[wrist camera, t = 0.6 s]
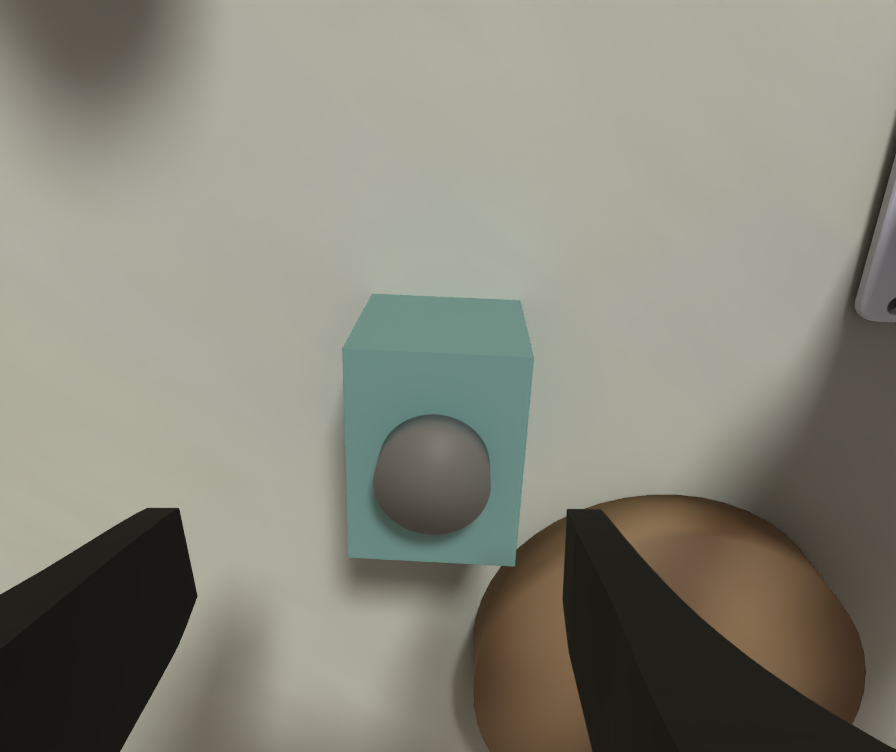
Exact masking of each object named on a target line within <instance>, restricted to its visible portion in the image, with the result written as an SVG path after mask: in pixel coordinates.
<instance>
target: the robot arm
mask: <svg viewBox="0 0 896 752" xmlns="http://www.w3.org/2000/svg"><path fill="white" fill-rule="evenodd" d="M894 298H896V156H895V159H894V163H893V166H892V170H891V174H890V177H889V181H888V184H887V188H886V192H885V195H884V199H883V203H882V206H881V210H880V213H879V217H878V221H877V224H876V228H875V231H874V235H873V239H872V242H871V246H870V250H869V253H868V257H867V260H866V264H865V268H864V271H863V275H862V278H861V282H860V286H859V289H858V293H857V297H856V300H855V310H856V312H857V314H859V315H860V316H861V317H862V318H864V319H866V320H869V321H873V322H895V323H896V307H895V308H894V309H892V310H890V311H887V306H888V304H889V302H890V301H891V300H893V299H894ZM196 599H197V592H196V587H195V582H194V577H193V573H192V568H191V563H190V558H189V553H188V549H187V544H186V539H185V534H184V530H183V525H182V520H181V515H180V510H179V508H146V509H144V510H142V511H140V512H138V513H136V514H135V515H133V516H131V517H129V518H128V519H126V520H124V521H122V522H121V523H119V524H117V525H116V526H114V527H112V528H111V529H109V530H107V531H106V532H104V533H103V534H101V535H99V536H98V537H96V538H94V539H93V540H91V541H90V542H88V543H86V544H85V545H83V546H81V547H80V548H78V549H77V550H75V551H73V552H72V553H70V554H68V555H67V556H65V557H64V558H62V559H60V560H59V561H57V562H55V563H54V564H52V565H51V566H49V567H47V568H46V569H44V570H42V571H41V572H39V573H37V574H35V575H34V576H32V577H30V578H28V579H27V580H25V581H23V582H21V583H20V584H18V585H16V586H14V587H13V588H11V589H9V590H7V591H6V592H4V593H2V594H0V752H120V751H121V749H122V747H123V745H124V743H125V742H126V740H127V738H128V736H129V734H130V733H131V731H132V729H133V727H134V725H135V724H136V722H137V720H138V718H139V717H140V715H141V713H142V711H143V709H144V708H145V706H146V704H147V702H148V700H149V699H150V697H151V695H152V693H153V691H154V690H155V688H156V686H157V684H158V682H159V681H160V679H161V677H162V675H163V673H164V671H165V670H166V668H167V666H168V664H169V662H170V660H171V659H172V657H173V655H174V653H175V651H176V649H177V647H178V645H179V643H180V640H181V638H182V635H183V633H184V630H185V628H186V626H187V623H188V620H189V618H190V615H191V612H192V610H193V607H194V604H195V601H196ZM562 601H563V610H564V618H565V627H566V635H567V643H568V651H569V656H570V660H571V664H572V669H573V673H574V677H575V681H576V686H577V690H578V694H579V698H580V702H581V707H582V711H583V715H584V719H585V723H586V727H587V731H588V736H589V740H590V744H591V748H592V752H896V749H894V748H892V747H890V746H888V745H886V744H884V743H883V742H881V741H879V740H877V739H875V738H874V737H872V736H870V735H869V734H867V733H865V732H863V731H862V730H860V729H858V728H857V727H855V726H853V725H851V724H850V723H848V722H846V721H845V720H843V719H841V718H839V717H838V716H836V715H834V714H833V713H831V712H829V711H828V710H826V709H825V708H823V707H822V706H820V705H818V704H817V703H815V702H814V701H812V700H810V699H809V698H807V697H806V696H804V695H803V694H801V693H800V692H798V691H797V690H795V689H794V688H792V687H791V686H790V685H788V684H787V683H785V682H784V681H782V680H781V679H779V678H778V677H776V676H775V675H773V674H772V673H771V672H769V671H768V670H766V669H765V668H764V667H762V666H761V665H759V664H758V663H757V662H755V661H754V660H753V659H751V658H750V657H749V656H747V655H746V654H745V653H744V652H742V651H741V650H740V649H739V648H737V647H736V646H735V645H734V644H732V643H731V642H730V641H729V640H727V639H726V638H725V637H724V636H722V635H721V634H720V633H719V632H717V631H716V630H715V629H714V628H713V627H711V626H710V625H709V624H708V623H707V622H706V621H705V620H703V619H702V618H701V617H700V616H699V615H698V614H697V613H696V612H695V611H694V610H693V609H692V608H690V607H689V606H688V605H687V604H686V603H685V602H684V601H683V600H682V599H681V598H680V597H679V596H678V595H677V594H676V593H675V592H674V591H673V590H672V589H671V588H670V587H669V586H668V585H667V584H666V583H665V582H664V581H663V579H662V578H661V577H660V576H659V575H658V574H657V573H656V572H655V571H654V570H653V569H652V568H651V567H650V566H649V565H648V563H647V562H646V561H645V560H644V559H643V558H642V557H641V556H640V554H639V553H638V552H637V551H636V550H635V549H634V548H633V546H632V545H631V544H630V543H629V542H628V541H627V539H626V538H625V537H624V536H623V535H622V533H621V532H620V531H619V530H618V528H617V527H616V526H615V525H614V524H613V522H612V521H611V520H610V519H609V517H608V516H607V515H606V514H605V513H604V512H603V511H602V510H601V509H567V518H566V538H565V558H564V577H563V597H562Z"/></svg>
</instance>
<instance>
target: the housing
mask: <svg viewBox="0 0 896 752" xmlns="http://www.w3.org/2000/svg"><path fill="white" fill-rule="evenodd" d="M342 352H343V390H344V428H345V466H346V504H347V542H348V558H364V559H383V560H402V561H421V562H439V563H458V564H477V565H496V566H515V559H516V548H517V537H518V526H519V515H520V504H521V493H522V482H523V471H524V460H525V449H526V438H527V427H528V416H529V405H530V394H531V383H532V372H533V361H534V356H533V352H532V348H531V343H530V339H529V335H528V331H527V327H526V323H525V318H524V314H523V310H522V306H521V302H520V300H499V299H477V298H455V297H433V296H410V295H388V294H372V295H371V297H370V299H369V301H368V303H367V305H366V306H365V308H364V310H363V312H362V314H361V315H360V317H359V319H358V321H357V323H356V325H355V326H354V328H353V330H352V332H351V334H350V335H349V337H348V339H347V341H346V343H345V345H344V346H343V348H342Z"/></svg>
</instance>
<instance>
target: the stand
mask: <svg viewBox="0 0 896 752" xmlns="http://www.w3.org/2000/svg"><path fill="white" fill-rule="evenodd" d="M586 509H601V510H602V511H603V512H604V513H605V514H606V515H607V516H608V517H609V519H610V520H611V521H612V522H613V524H614V525H615V526H616V527H617V528H618V530H619V531H620V532H621V533H622V535H623V536H624V537H625V538H626V539H627V541H628V542H629V543H630V544H631V545H632V546H633V548H634V549H635V550H636V551H637V552H638V553H639V554H640V556H641V557H642V558H643V559H644V560H645V561H646V562H647V563H648V565H649V566H650V567H651V568H652V569H653V570H654V571H655V572H656V573H657V574H658V575H659V576H660V577H661V578H662V579H663V581H664V582H665V583H666V584H667V585H668V586H669V587H670V588H671V589H672V590H673V591H674V592H675V593H676V594H677V595H678V596H679V597H680V598H681V599H682V600H683V601H684V602H685V603H686V604H687V605H688V606H689V607H690V608H692V609H693V610H694V611H695V612H696V613H697V614H698V615H699V616H700V617H701V618H702V619H703V620H705V621H706V622H707V623H708V624H709V625H710V626H711V627H713V628H714V629H715V630H716V631H717V632H719V633H720V634H721V635H722V636H724V637H725V638H726V639H727V640H729V641H730V642H731V643H732V644H734V645H735V646H736V647H737V648H739V649H740V650H741V651H742V652H744V653H745V654H746V655H747V656H749V657H750V658H751V659H753V660H754V661H755V662H757V663H758V664H759V665H761V666H762V667H764V668H765V669H766V670H768V671H769V672H771V673H772V674H773V675H775V676H776V677H778V678H779V679H781V680H782V681H784V682H785V683H787V684H788V685H790V686H791V687H792V688H794V689H795V690H797V691H798V692H800V693H801V694H803V695H804V696H806V697H807V698H809V699H810V700H812V701H814V702H815V703H817V704H818V705H820V706H822V707H823V708H825V709H826V710H828V711H829V712H831V713H833V714H834V715H836V716H838V717H839V718H841V719H843V720H845V721H846V722H848V723H850V724H851V725H852V723H853V721H854V719H855V717H856V715H857V713H858V710H859V707H860V703H861V700H862V696H863V692H864V684H865V674H866V670H865V659H864V651H863V647H862V644H861V640H860V637H859V633H858V631H857V629H856V627H855V625H854V623H853V621H852V619H851V617H850V615H849V614H848V613H847V611H846V610H845V609H844V607H843V606H842V605H841V603H840V602H839V601H838V599H837V598H836V597H835V595H834V594H833V592H832V591H831V590H830V588H829V587H828V586H827V584H826V583H825V582H824V580H823V579H822V578H821V576H820V575H819V574H818V572H817V571H816V570H815V568H814V567H813V566H812V564H811V563H810V561H809V560H808V559H807V557H806V556H805V555H804V553H803V552H802V551H801V549H800V548H799V547H798V546H797V545H796V544H795V543H794V542H793V541H792V540H791V539H789V538H788V537H787V536H786V535H785V534H784V533H783V532H781V531H780V530H778V529H777V528H776V527H774V526H773V525H771V524H770V523H769V522H767V521H765V520H763V519H761V518H759V517H758V516H756V515H754V514H752V513H750V512H748V511H746V510H743V509H740V508H737V507H734V506H732V505H729V504H726V503H723V502H718V501H714V500H709V499H705V498H701V497H691V496H682V495H646V496H637V497H628V498H622V499H618V500H614V501H609V502H605V503H600V504H597V505H595V506H592V507H589V508H586ZM566 518H567V517H565V518H562V519H560V520H558V521H556V522H554V523H553V524H551V525H550V526H548V527H546V528H545V529H543V530H542V531H540V532H538V533H537V534H535V535H534V536H533V537H532V538H530V539H529V540H528V541H527V542H525V543H524V544H523V545H522V546H521V547H519V548H518V549H517V550H516V559H515V566H501V568H500V569H499V571H498V572H497V574H496V575H495V576H494V578H493V579H492V581H491V582H490V584H489V586H488V588H487V590H486V592H485V594H484V596H483V598H482V601H481V604H480V607H479V610H478V613H477V617H476V623H475V630H474V708H475V713H476V718H477V723H478V726H479V729H480V731H481V734H482V737H483V739H484V741H485V743H486V745H487V747H488V748H489V750H490V752H592V748H591V744H590V740H589V736H588V731H587V727H586V723H585V719H584V715H583V711H582V707H581V702H580V698H579V694H578V690H577V686H576V681H575V677H574V673H573V669H572V664H571V660H570V656H569V651H568V643H567V635H566V627H565V618H564V610H563V601H562V597H563V577H564V558H565V538H566Z"/></svg>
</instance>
